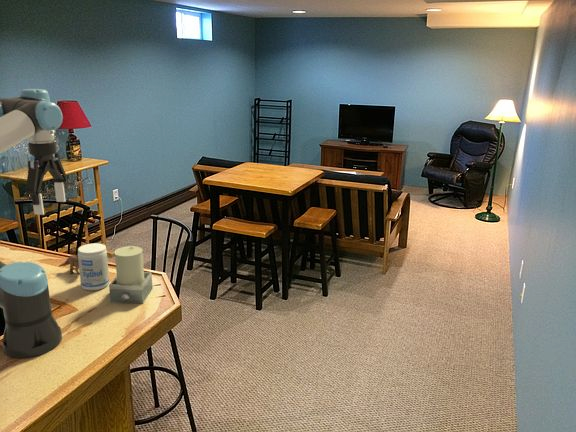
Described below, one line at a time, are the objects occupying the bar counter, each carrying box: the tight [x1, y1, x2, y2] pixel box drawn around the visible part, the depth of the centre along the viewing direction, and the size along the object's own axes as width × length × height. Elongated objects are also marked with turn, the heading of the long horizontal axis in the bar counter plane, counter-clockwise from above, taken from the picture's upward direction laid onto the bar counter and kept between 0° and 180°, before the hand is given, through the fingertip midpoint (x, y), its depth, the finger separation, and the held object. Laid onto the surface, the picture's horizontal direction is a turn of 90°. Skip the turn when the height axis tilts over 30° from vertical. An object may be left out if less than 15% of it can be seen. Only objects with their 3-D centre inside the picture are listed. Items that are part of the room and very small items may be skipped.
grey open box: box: [108, 271, 153, 304], centre depth 164 cm, size 12×11×6 cm
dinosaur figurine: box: [58, 253, 80, 276], centre depth 181 cm, size 14×6×9 cm, turn 80°
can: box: [113, 245, 145, 285], centre depth 162 cm, size 9×9×12 cm
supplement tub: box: [77, 242, 110, 291], centre depth 170 cm, size 10×10×15 cm
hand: (50, 207), depth 152 cm, fingers open, 13 cm apart
